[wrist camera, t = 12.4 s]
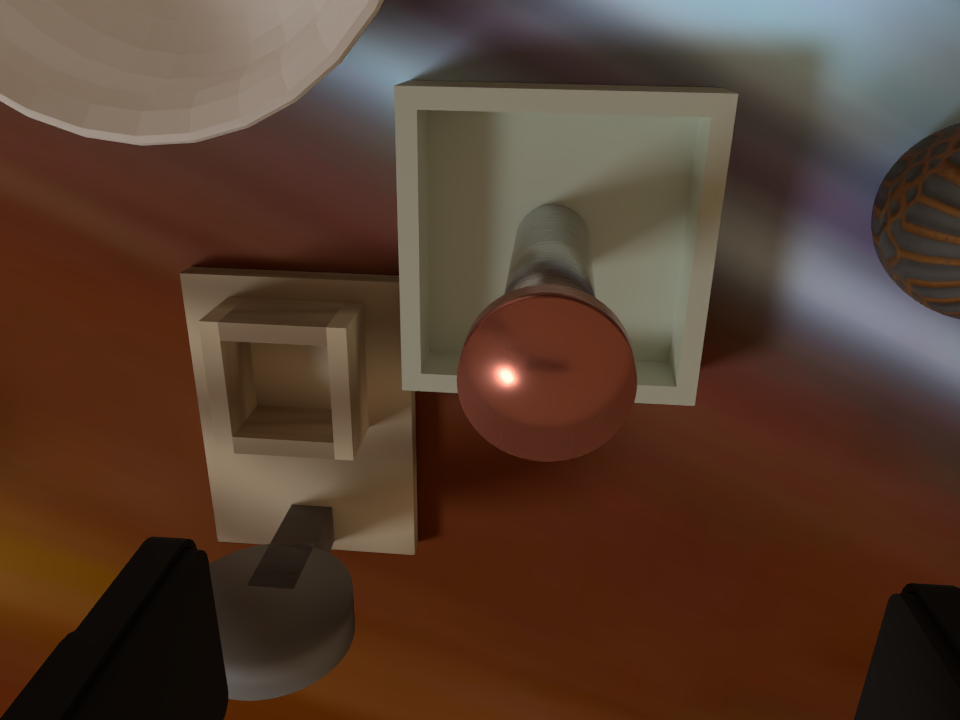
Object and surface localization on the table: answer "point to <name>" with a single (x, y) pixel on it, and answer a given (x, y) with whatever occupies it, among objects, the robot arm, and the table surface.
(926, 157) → the vase
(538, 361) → the lock pin
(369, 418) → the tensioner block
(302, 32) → the bowl
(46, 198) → the table surface
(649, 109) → the tray
